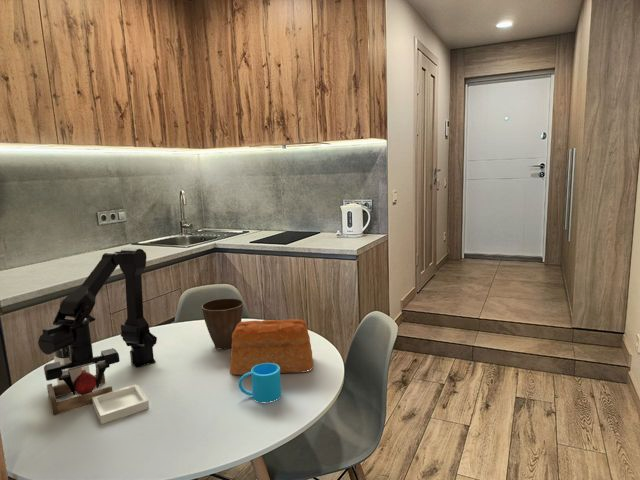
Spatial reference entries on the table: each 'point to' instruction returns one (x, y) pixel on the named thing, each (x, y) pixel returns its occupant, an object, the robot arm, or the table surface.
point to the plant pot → (222, 320)
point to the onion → (85, 383)
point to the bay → (72, 402)
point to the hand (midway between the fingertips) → (86, 390)
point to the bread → (271, 345)
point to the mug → (264, 382)
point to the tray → (119, 403)
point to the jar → (73, 372)
